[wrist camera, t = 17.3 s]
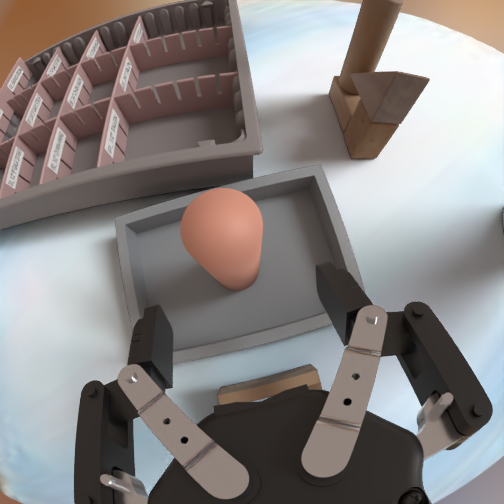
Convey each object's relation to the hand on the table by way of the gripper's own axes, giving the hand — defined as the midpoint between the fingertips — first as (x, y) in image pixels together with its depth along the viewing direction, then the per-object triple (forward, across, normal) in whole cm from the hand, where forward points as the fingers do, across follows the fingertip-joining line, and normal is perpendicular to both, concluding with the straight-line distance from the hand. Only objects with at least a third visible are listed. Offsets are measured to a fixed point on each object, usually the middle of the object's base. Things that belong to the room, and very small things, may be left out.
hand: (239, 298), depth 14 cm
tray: (+12, 0, +6) cm, 13 cm away
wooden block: (+22, -18, -3) cm, 28 cm away
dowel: (+11, 0, +6) cm, 12 cm away
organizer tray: (+30, +13, -12) cm, 35 cm away
